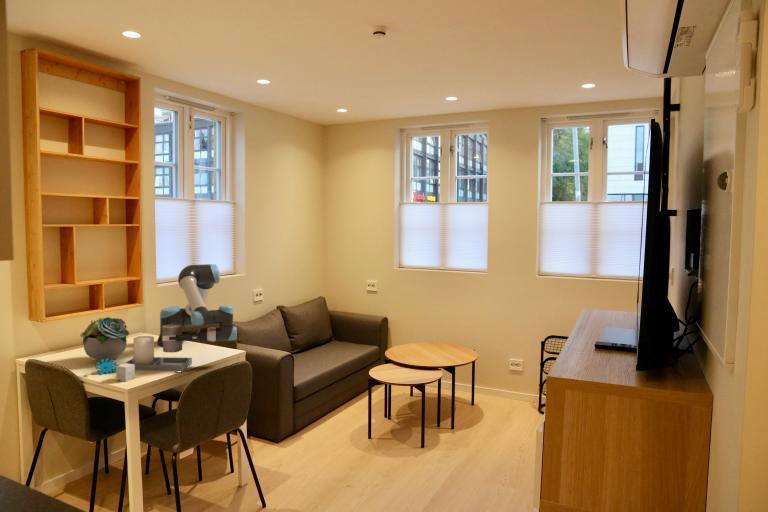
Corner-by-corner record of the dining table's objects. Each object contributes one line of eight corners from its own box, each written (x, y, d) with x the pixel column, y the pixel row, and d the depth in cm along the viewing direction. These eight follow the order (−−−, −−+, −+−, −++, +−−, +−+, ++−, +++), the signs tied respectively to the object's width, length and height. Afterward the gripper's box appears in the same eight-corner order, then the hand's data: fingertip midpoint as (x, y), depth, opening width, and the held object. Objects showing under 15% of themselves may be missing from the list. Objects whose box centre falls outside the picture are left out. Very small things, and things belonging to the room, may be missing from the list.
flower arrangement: (131, 353, 310) (131, 312, 308) (128, 365, 287) (127, 321, 285) (83, 356, 301) (83, 314, 299) (75, 368, 278) (75, 323, 276)
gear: (94, 374, 264) (96, 357, 270) (93, 380, 267) (95, 363, 273) (119, 375, 269) (120, 358, 275) (117, 380, 273) (118, 363, 279)
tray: (135, 363, 292) (135, 356, 291) (191, 363, 293) (191, 357, 293) (122, 371, 276) (122, 364, 275) (182, 372, 277) (182, 365, 277)
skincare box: (135, 378, 265) (135, 364, 264) (125, 381, 259) (125, 367, 259) (125, 377, 267) (125, 362, 266) (116, 380, 261) (115, 365, 261)
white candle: (138, 362, 289) (138, 335, 288) (156, 363, 289) (156, 336, 288) (130, 368, 279) (130, 340, 278) (149, 368, 279) (149, 340, 278)
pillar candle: (178, 347, 291) (178, 320, 290) (184, 351, 283) (184, 323, 282) (160, 350, 285) (159, 322, 283) (166, 353, 277) (165, 325, 276)
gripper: (207, 346, 278) (161, 348, 272) (207, 336, 300) (165, 338, 293) (207, 332, 278) (161, 333, 271) (207, 323, 299) (165, 325, 292)
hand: (163, 336), depth 282 cm, fingers closed on pillar candle, 9 cm apart
